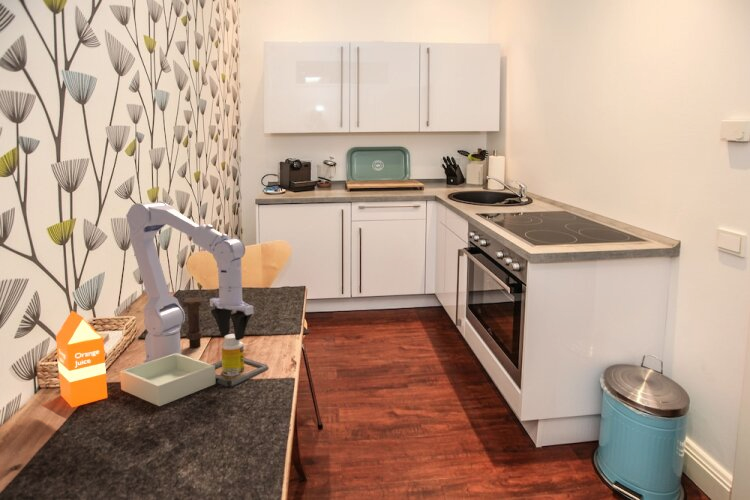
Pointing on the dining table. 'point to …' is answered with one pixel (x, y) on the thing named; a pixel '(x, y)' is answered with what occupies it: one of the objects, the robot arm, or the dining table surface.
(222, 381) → the socket collar
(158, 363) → the bin
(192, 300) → the bolt
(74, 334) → the orange juice
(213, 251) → the robot arm
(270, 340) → the dining table surface
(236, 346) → the supplement bottle
